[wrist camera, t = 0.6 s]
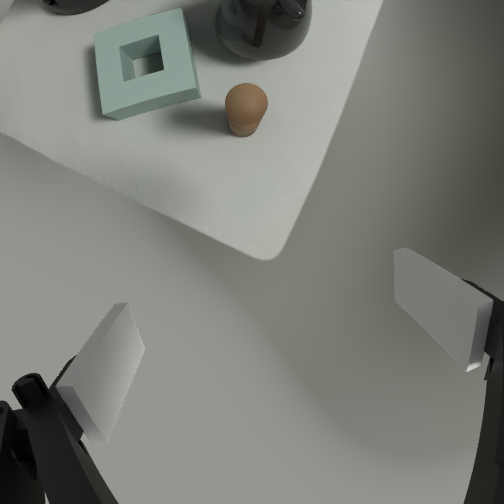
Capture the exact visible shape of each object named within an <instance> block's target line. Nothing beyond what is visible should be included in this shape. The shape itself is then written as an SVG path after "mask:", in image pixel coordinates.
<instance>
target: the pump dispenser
mask: <svg viewBox="0 0 504 504" xmlns="http://www.w3.org/2000/svg"><path fill="white" fill-rule="evenodd" d="M311 18H312V0H215V4H214V9H213V26H214V30H215V33H216V35H217V37H218V39H219V40H220V41H221V43H222V44H223V45H224V46H225V47H227V48H228V49H229V50H230V51H232V52H234V53H236V54H238V55H240V56H242V57H245V58H249V59H255V60H271V59H277V58H280V57H283V56H286V55H288V54H290V53H291V52H293V51H294V50H296V49H297V48H298V47H299V46H300V45H301V44H302V42H303V41H304V39H305V38H306V36H307V33H308V31H309V28H310V23H311Z"/></svg>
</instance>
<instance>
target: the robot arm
mask: <svg viewBox="0 0 504 504" xmlns="http://www.w3.org/2000/svg"><path fill="white" fill-rule="evenodd" d="M42 1H43V3H44V4H45V5H46V6H47V7H49V8H50V9H51V10H53V11H54V12H56V13H58V14H63V15H73V14H79V13H83V12H86V11H89V10H91V9H94V8H96V7H98V6H100V5H102V4H104V3H105V2H107V1H108V0H42ZM394 269H395V301H396V302H397V303H398V304H399V305H400V306H401V307H402V308H403V309H404V310H405V311H406V312H407V313H408V314H409V315H410V316H412V318H413V319H415V320H416V321H417V322H418V323H419V324H420V325H421V326H422V327H423V328H424V329H425V330H426V331H427V332H428V333H429V334H430V335H431V336H432V337H433V338H434V339H435V340H436V341H437V342H438V343H439V344H440V345H441V346H442V347H443V348H444V349H445V350H446V351H447V352H448V353H449V354H450V355H451V356H452V357H453V358H454V360H455V361H456V362H457V363H458V364H459V365H460V366H461V367H462V368H463V369H464V370H465V371H466V372H467V371H470V370H472V369H474V368H476V367H478V366H480V365H481V364H482V359H483V355H484V351H485V352H486V353H487V354H488V355H489V356H490V359H489V363H488V367H487V371H486V374H485V378H484V380H487V386H486V396H485V405H484V413H483V420H482V427H481V432H480V438H479V443H478V448H477V453H476V458H475V463H474V467H473V472H472V475H471V479H470V483H469V487H468V490H467V494H466V497H465V500H464V504H504V301H501V300H500V299H498V298H497V297H495V296H494V295H492V294H490V293H489V292H487V291H485V290H484V289H482V288H479V286H478V285H476V284H474V283H472V282H470V281H467V280H464V279H459V278H458V277H456V276H455V275H453V274H451V273H449V272H448V271H446V270H445V269H443V268H441V267H439V266H438V265H436V264H434V263H432V262H431V261H429V260H428V259H426V258H424V257H422V256H421V255H419V254H417V253H415V252H414V251H412V250H410V249H408V248H403V249H399V250H394ZM144 352H145V347H144V345H143V342H142V340H141V337H140V334H139V332H138V329H137V326H136V324H135V321H134V318H133V315H132V312H131V309H130V306H129V304H128V302H125V303H119V304H114V306H113V307H112V308H111V310H110V311H109V312H108V314H107V315H106V316H105V317H104V319H103V320H102V321H101V323H100V324H99V325H98V327H97V328H96V330H95V331H94V332H93V334H92V335H91V336H90V338H89V339H88V341H87V342H86V343H85V345H84V346H83V347H82V349H81V350H80V352H79V353H78V354H77V355H76V356H74V357H73V358H72V359H71V360H69V361H68V362H67V364H66V365H65V366H64V368H63V370H62V371H61V372H60V374H59V376H57V378H56V379H55V381H54V382H53V383H52V385H51V386H50V388H49V389H48V388H47V386H46V384H45V382H44V381H43V379H42V377H41V376H40V374H37V373H30V374H27V375H25V376H23V377H21V378H20V379H18V380H17V381H16V382H15V383H14V385H13V386H12V391H13V393H14V395H15V397H16V398H17V400H18V401H19V403H20V405H21V406H22V408H23V409H18V410H12V409H11V407H10V406H9V404H8V403H7V402H6V401H0V504H45V493H46V495H47V498H48V501H49V504H118V502H117V501H116V499H115V497H114V496H113V494H112V493H111V491H110V490H109V488H108V486H107V485H106V483H105V481H104V480H103V478H102V476H101V475H100V473H99V471H98V469H97V468H96V466H95V464H94V462H93V460H92V458H91V457H90V455H89V453H88V451H87V449H86V447H85V446H84V444H83V442H82V441H81V440H80V438H81V436H82V434H83V432H84V434H85V435H86V436H87V438H88V439H89V441H90V442H91V443H108V442H109V439H110V436H111V433H112V431H113V428H114V426H115V423H116V420H117V418H118V415H119V413H120V410H121V408H122V405H123V403H124V400H125V398H126V395H127V392H128V390H129V387H130V385H131V383H132V380H133V378H134V375H135V373H136V371H137V368H138V366H139V363H140V361H141V359H142V356H143V354H144ZM44 490H45V491H44Z"/></svg>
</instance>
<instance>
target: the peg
mask: <svg viewBox="0 0 504 504" xmlns="http://www.w3.org/2000/svg"><path fill="white" fill-rule="evenodd" d="M225 106H226V112H227V118H228V124H229V128H230V130H231V132H232V133H233V134H234V135H236V136H238V137H248V136H250V135H252V134H253V133H254V132H255V130H256V129H257V127H258V125H259V123H260V121H261V119H262V117H263V116H264V114H265V112H266V110H267V106H268V100H267V96H266V94H265V93H264V91H263V90H262V89H261V88H260V87H258V86H256V85H254V84H250V83H243V84H239V85H237V86H235V87H233V88H232V89H231V90H230V91H229V92H228V94H227V96H226V100H225Z"/></svg>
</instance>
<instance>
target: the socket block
mask: <svg viewBox="0 0 504 504" xmlns="http://www.w3.org/2000/svg"><path fill="white" fill-rule="evenodd" d="M94 43H95V55H96V66H97V75H98V84H99V92H100V99H101V106H102V113H103V115H105V116H108V117H111V118H114V119H116V120H122V119H125V118H128V117H131V116H135V115H138V114H141V113H145V112H148V111H152V110H155V109H159V108H162V107H166V106H170V105H174V104H178V103H182V102H186V101H190V100H194V99H199V98H201V94H200V88H199V83H198V78H197V73H196V67H195V62H194V57H193V51H192V46H191V40H190V35H189V29H188V25H187V22H186V19H185V16H184V13H183V10H182V7H181V8H177V9H173V10H169V11H165V12H162V13H158V14H154V15H151V16H148V17H144V18H141V19H138V20H135V21H132V22H129V23H126V24H123V25H120V26H117V27H114V28H112V29H109V30H106V31H104V32H101V33H98V34H96V35H94ZM158 52H161V53H162V59H163V65H164V70H162V71H158V72H155V73H151V74H148V75H144V76H141V77H138V78H135V73H134V66H133V60H135V59H138V58H141V57H144V56H147V55H151V54H154V53H158Z"/></svg>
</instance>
